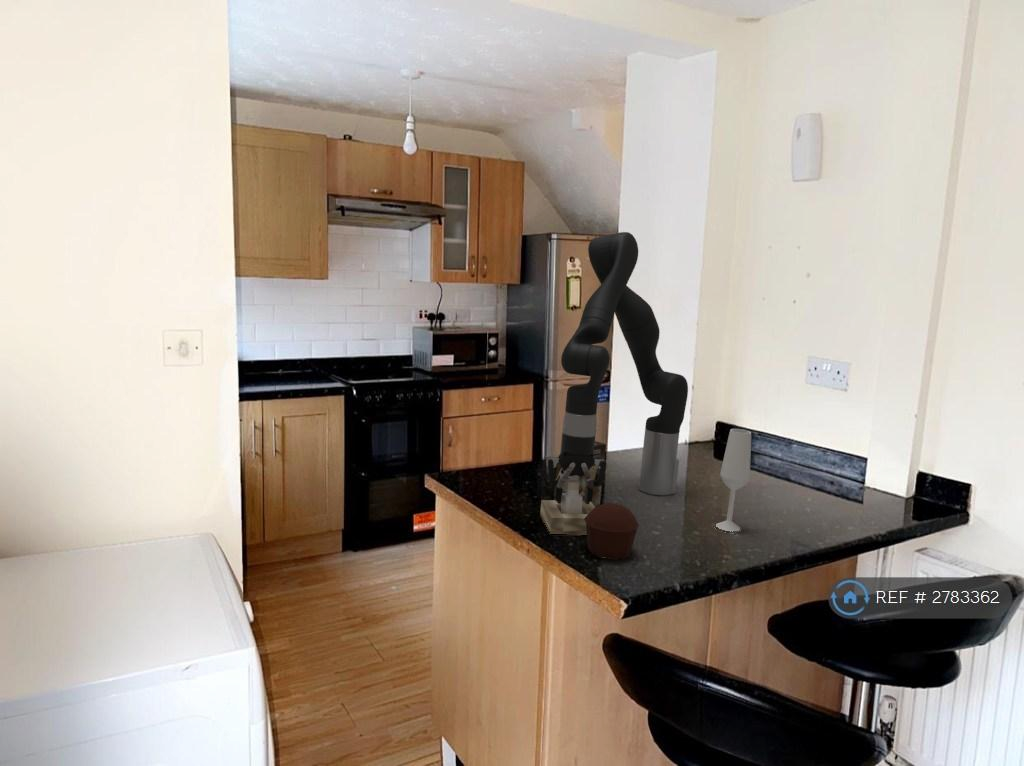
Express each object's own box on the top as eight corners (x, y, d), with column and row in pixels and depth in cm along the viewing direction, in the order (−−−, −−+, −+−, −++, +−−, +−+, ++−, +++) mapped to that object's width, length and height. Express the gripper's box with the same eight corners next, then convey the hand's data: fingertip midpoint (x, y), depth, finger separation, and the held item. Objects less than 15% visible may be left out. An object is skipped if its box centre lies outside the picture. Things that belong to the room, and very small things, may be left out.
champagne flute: (728, 522, 172) (740, 427, 168) (748, 531, 166) (762, 433, 162) (707, 524, 169) (719, 428, 165) (727, 534, 163) (740, 435, 159)
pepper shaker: (566, 524, 159) (568, 483, 157) (559, 518, 162) (560, 479, 161) (582, 522, 160) (584, 482, 159) (575, 517, 164) (576, 478, 162)
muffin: (605, 537, 156) (610, 494, 154) (646, 554, 148) (651, 509, 146) (570, 548, 148) (574, 503, 146) (611, 567, 140) (616, 519, 138)
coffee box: (577, 511, 171) (583, 448, 169) (558, 504, 176) (563, 442, 173) (600, 504, 178) (606, 443, 175) (581, 498, 182) (587, 438, 180)
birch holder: (588, 516, 168) (590, 501, 167) (602, 535, 156) (604, 518, 156) (540, 516, 166) (541, 499, 166) (550, 535, 154) (551, 517, 154)
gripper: (605, 429, 163) (598, 498, 165) (544, 426, 160) (538, 496, 163) (614, 436, 155) (607, 509, 158) (551, 434, 153) (545, 507, 156)
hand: (572, 502), depth 160 cm, fingers open, 6 cm apart
